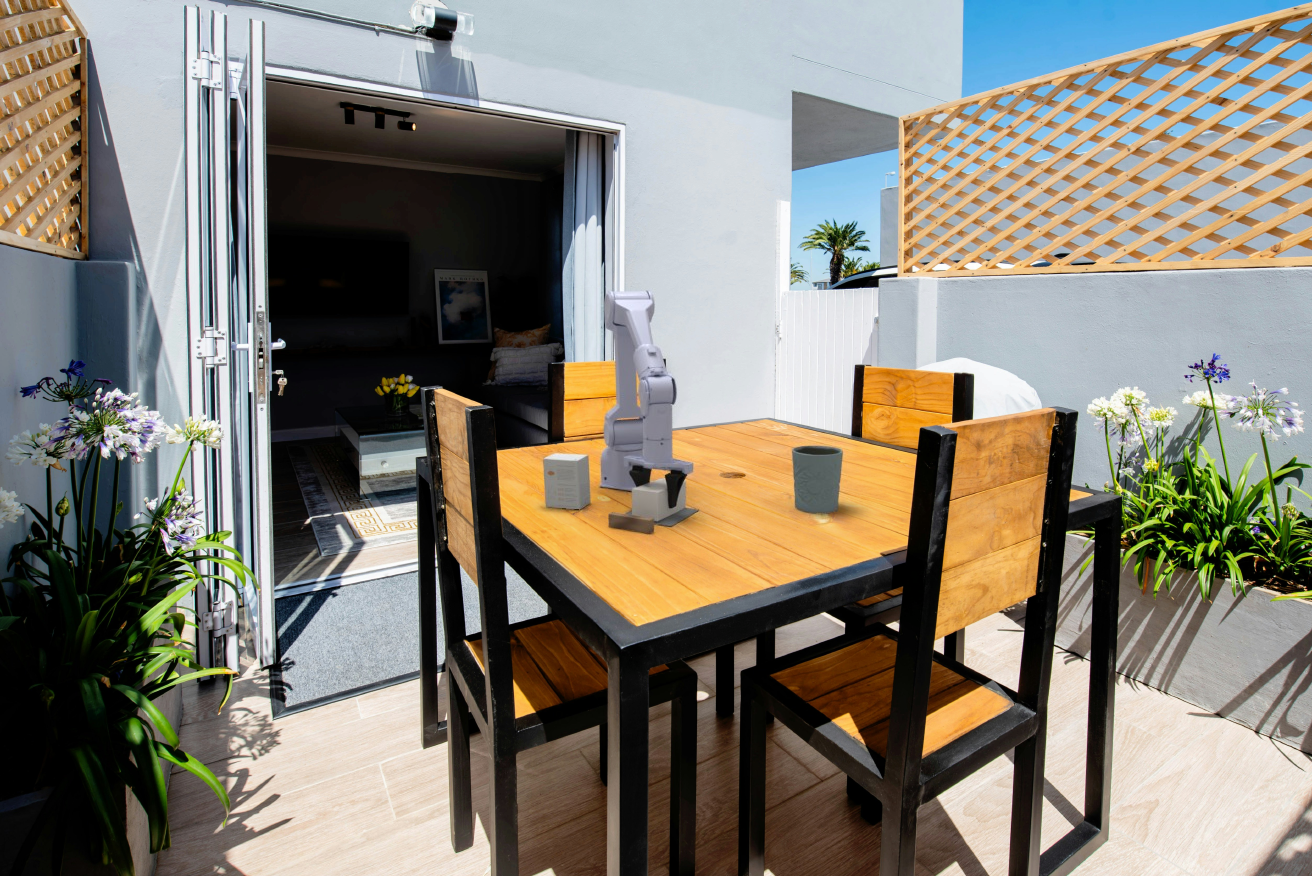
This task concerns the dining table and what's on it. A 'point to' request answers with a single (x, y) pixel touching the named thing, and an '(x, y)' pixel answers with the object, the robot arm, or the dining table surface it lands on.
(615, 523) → the brown rectangular bar
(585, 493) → the small box
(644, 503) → the white rectangular block
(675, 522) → the thin grey square plate
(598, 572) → the dining table surface
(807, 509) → the grey green tumbler
